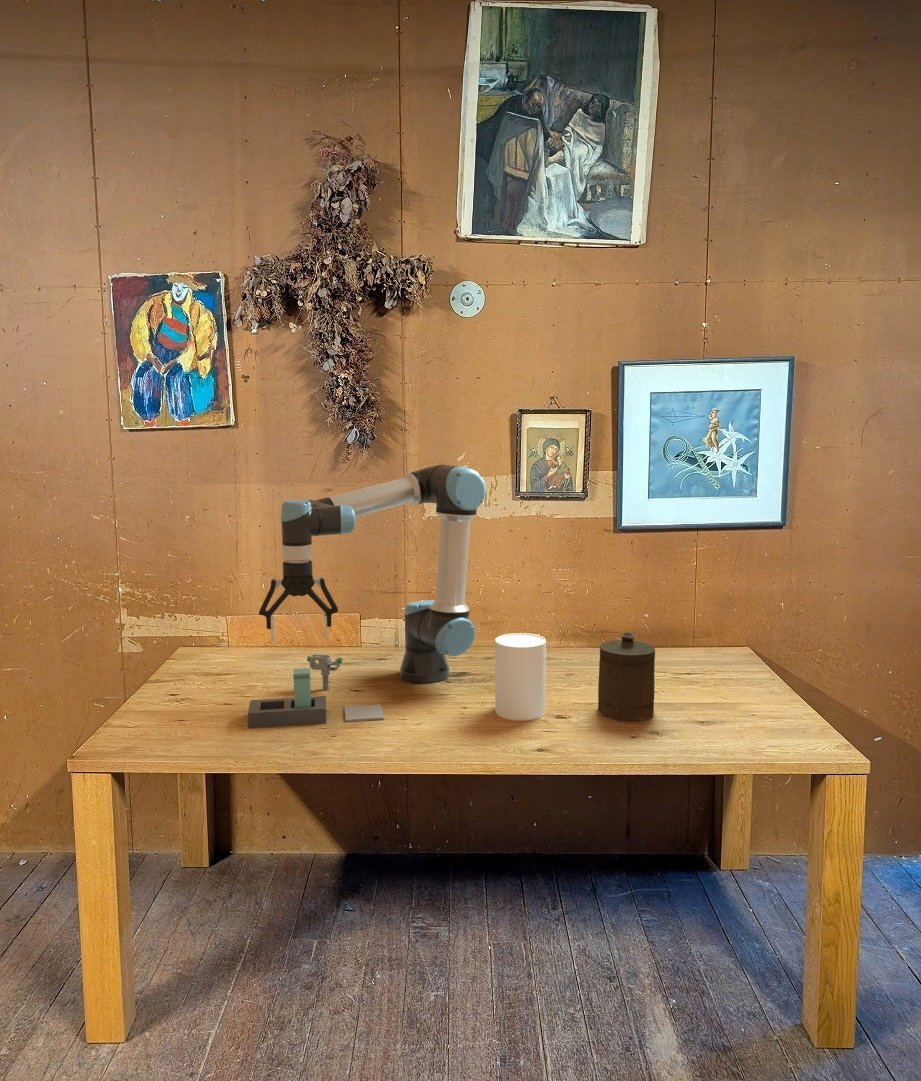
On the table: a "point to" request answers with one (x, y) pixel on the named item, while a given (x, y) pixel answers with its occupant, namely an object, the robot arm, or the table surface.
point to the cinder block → (285, 712)
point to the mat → (363, 713)
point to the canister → (520, 676)
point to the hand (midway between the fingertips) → (299, 639)
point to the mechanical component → (324, 666)
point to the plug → (302, 688)
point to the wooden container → (626, 679)
